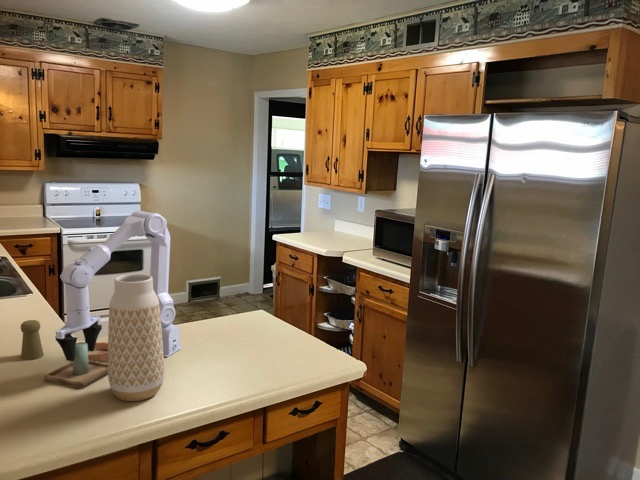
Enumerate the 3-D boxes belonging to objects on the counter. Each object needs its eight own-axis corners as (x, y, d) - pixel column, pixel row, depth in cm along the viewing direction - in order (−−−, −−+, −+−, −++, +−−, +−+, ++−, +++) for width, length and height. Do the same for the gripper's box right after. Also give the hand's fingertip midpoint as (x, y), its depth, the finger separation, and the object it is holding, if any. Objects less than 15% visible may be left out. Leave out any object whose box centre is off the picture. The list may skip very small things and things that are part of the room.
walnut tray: (116, 369, 154) (116, 364, 154) (83, 388, 142) (83, 383, 142) (79, 363, 158) (79, 358, 158) (44, 380, 146) (43, 375, 146)
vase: (110, 409, 131) (105, 286, 126) (107, 386, 144) (103, 273, 139) (168, 400, 137) (165, 282, 132) (161, 378, 149) (158, 270, 144)
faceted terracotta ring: (123, 351, 168) (123, 344, 168) (99, 364, 158) (99, 356, 158) (95, 346, 171) (95, 340, 171) (70, 358, 161) (70, 351, 161)
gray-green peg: (92, 370, 151) (90, 343, 150) (81, 376, 148) (80, 348, 146) (80, 368, 152) (79, 341, 151) (69, 374, 149) (68, 346, 147)
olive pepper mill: (34, 361, 159) (31, 325, 157) (16, 359, 160) (13, 323, 158) (48, 353, 165) (46, 319, 163) (30, 351, 166) (28, 317, 164)
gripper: (85, 299, 155) (87, 344, 157) (45, 313, 141) (48, 362, 144) (105, 302, 153) (107, 347, 155) (66, 316, 139) (69, 366, 141)
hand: (80, 355), depth 149 cm, fingers open, 7 cm apart
